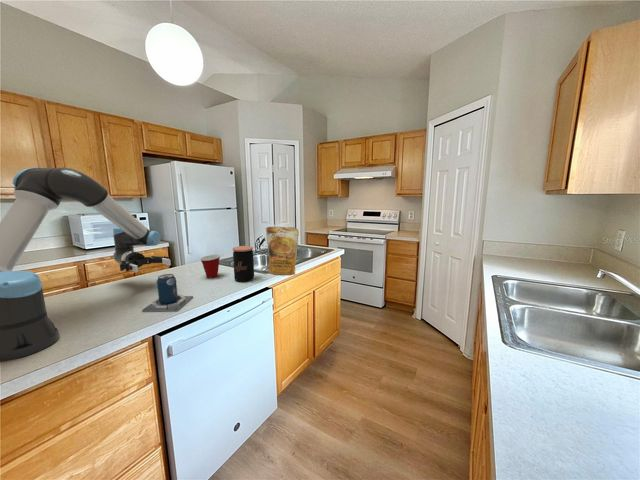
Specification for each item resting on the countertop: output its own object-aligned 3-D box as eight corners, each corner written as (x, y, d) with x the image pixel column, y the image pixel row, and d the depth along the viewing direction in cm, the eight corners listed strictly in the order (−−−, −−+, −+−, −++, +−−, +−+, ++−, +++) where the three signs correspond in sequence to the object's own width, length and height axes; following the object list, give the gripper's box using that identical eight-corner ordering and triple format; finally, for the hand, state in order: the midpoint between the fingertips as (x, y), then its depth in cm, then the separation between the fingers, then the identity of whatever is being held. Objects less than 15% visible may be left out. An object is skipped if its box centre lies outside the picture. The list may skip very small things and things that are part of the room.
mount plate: (142, 311, 103) (141, 307, 103) (162, 297, 117) (161, 293, 116) (177, 311, 103) (177, 306, 103) (193, 297, 117) (192, 293, 117)
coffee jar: (230, 280, 140) (228, 248, 137) (244, 275, 149) (242, 245, 146) (244, 283, 135) (243, 250, 132) (258, 278, 145) (257, 247, 141)
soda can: (180, 302, 110) (177, 276, 107) (161, 307, 105) (158, 279, 103) (175, 298, 115) (173, 272, 113) (157, 302, 110) (154, 275, 108)
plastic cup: (201, 275, 149) (199, 255, 147) (221, 272, 154) (219, 253, 152) (201, 281, 140) (199, 259, 137) (222, 278, 144) (221, 257, 142)
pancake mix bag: (269, 271, 158) (267, 226, 153) (299, 272, 154) (298, 226, 149) (265, 274, 151) (263, 227, 146) (296, 276, 148) (295, 228, 143)
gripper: (161, 261, 137) (182, 267, 126) (103, 272, 117) (122, 280, 105) (159, 248, 136) (181, 252, 124) (100, 256, 115) (119, 263, 104)
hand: (154, 265), depth 115 cm, fingers open, 13 cm apart
